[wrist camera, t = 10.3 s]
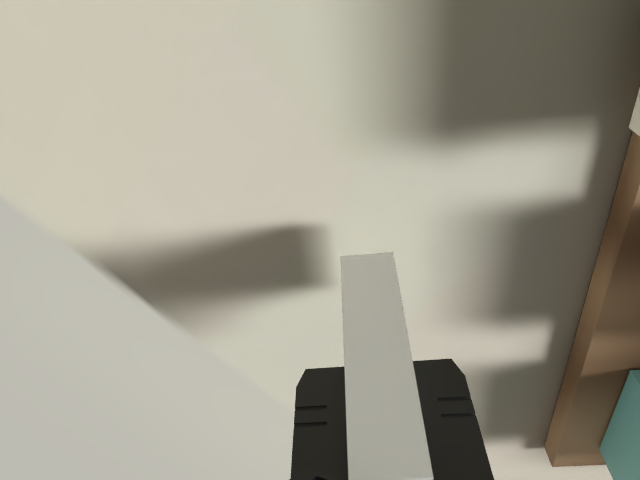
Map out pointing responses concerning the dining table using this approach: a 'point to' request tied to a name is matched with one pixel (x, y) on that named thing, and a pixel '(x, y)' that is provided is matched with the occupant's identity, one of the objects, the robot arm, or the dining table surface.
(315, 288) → the dining table surface
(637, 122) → the ivory key
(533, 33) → the dining table surface
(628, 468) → the teal key
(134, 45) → the dining table surface
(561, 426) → the key console
